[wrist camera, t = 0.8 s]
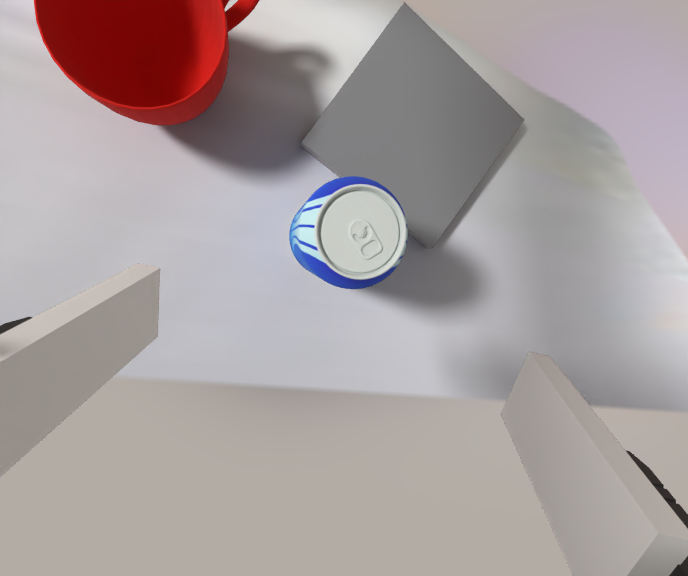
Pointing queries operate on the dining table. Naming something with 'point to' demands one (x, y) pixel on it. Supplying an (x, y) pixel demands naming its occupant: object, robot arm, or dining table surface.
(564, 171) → the dining table surface
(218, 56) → the ceramic cup
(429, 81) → the slate tile
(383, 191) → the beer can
